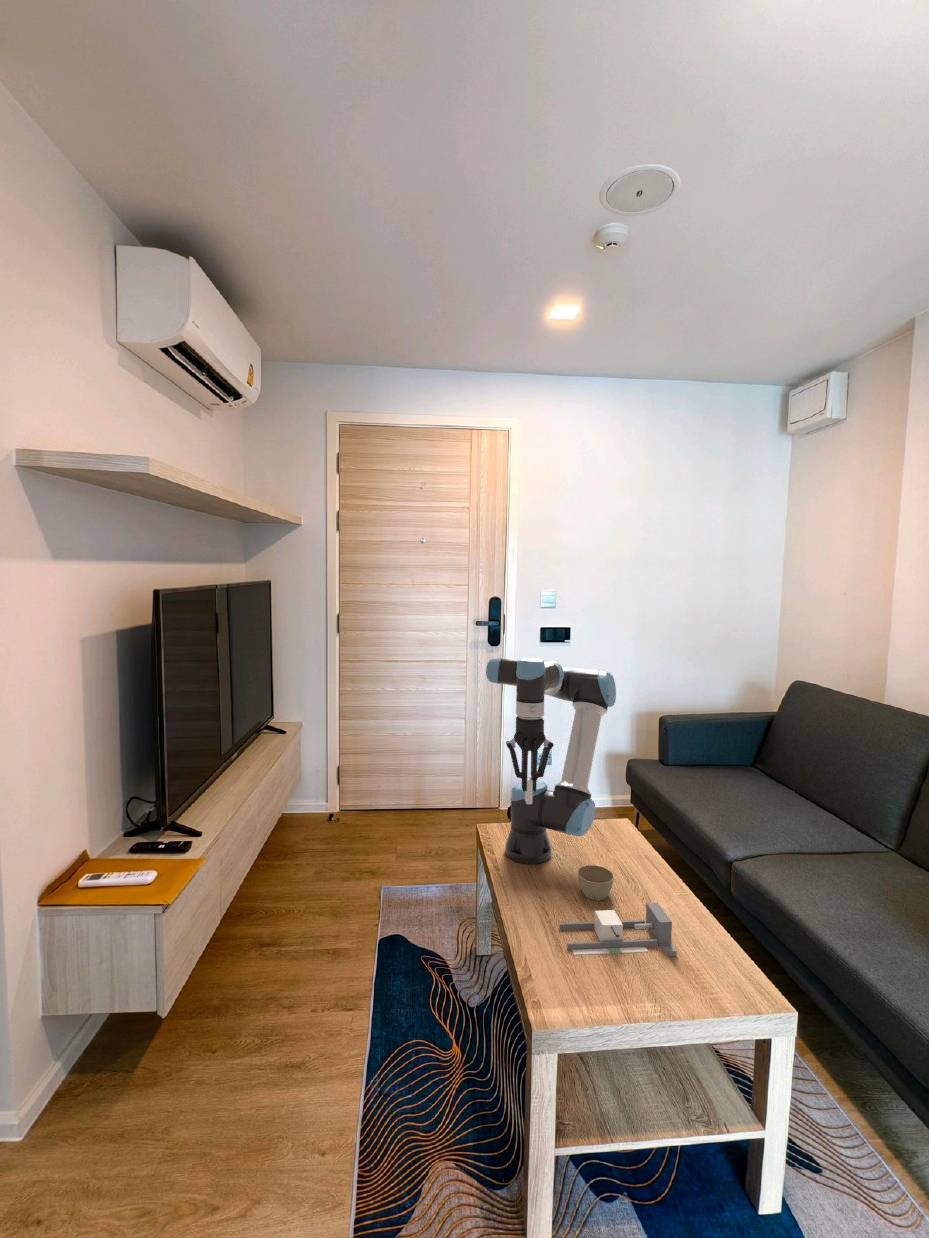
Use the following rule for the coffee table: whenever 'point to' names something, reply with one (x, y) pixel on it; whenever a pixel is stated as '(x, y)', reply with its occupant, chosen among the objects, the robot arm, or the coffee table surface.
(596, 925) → the cream block
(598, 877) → the flower pot
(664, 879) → the coffee table surface
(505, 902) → the coffee table surface
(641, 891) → the coffee table surface
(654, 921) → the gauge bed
